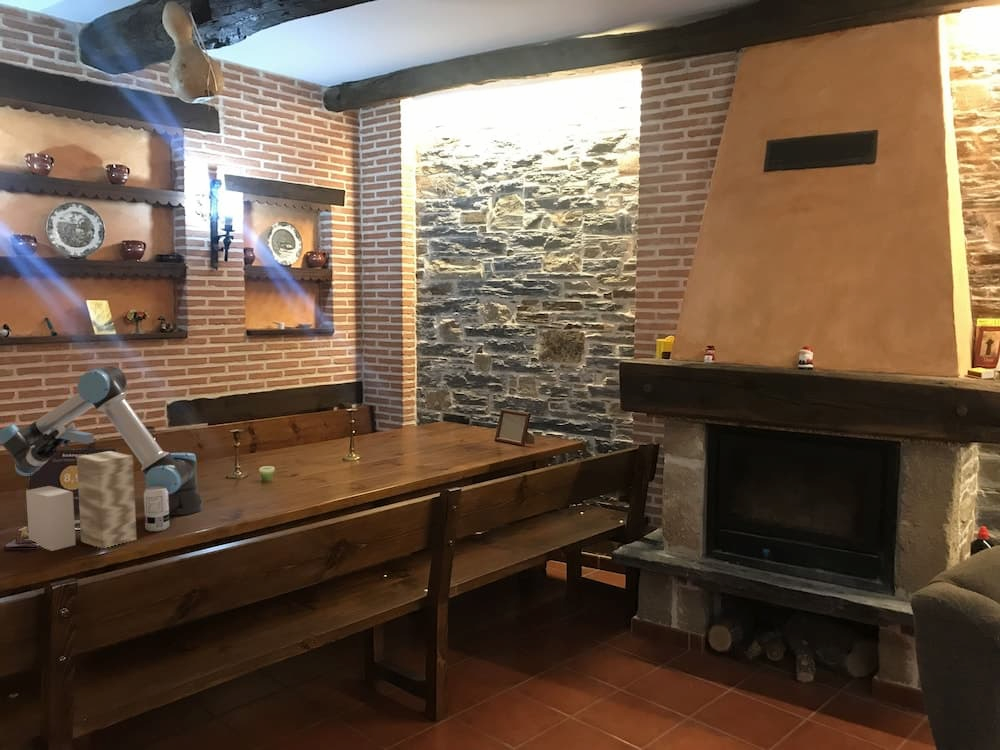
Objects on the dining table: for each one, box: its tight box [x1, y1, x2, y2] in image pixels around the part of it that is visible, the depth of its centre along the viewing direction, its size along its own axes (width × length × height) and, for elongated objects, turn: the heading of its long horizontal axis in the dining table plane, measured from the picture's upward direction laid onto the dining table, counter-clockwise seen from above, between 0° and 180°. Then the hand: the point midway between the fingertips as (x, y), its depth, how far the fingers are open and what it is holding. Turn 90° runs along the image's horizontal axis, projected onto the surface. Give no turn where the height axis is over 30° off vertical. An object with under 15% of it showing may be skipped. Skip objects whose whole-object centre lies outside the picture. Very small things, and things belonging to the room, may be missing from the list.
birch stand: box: [76, 450, 138, 549], centre depth 280 cm, size 12×14×30 cm
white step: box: [25, 485, 76, 552], centre depth 277 cm, size 8×15×18 cm, turn 56°
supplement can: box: [143, 486, 170, 532], centre depth 296 cm, size 8×8×15 cm
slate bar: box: [51, 427, 95, 444], centre depth 285 cm, size 3×23×3 cm, turn 55°
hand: (68, 426), depth 286 cm, fingers closed on slate bar, 3 cm apart
